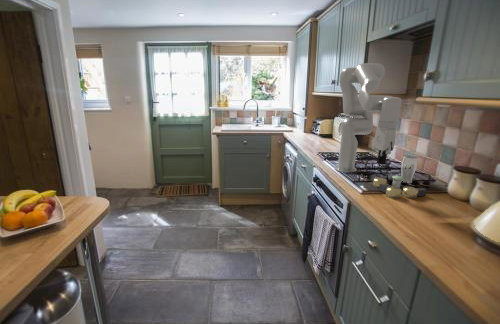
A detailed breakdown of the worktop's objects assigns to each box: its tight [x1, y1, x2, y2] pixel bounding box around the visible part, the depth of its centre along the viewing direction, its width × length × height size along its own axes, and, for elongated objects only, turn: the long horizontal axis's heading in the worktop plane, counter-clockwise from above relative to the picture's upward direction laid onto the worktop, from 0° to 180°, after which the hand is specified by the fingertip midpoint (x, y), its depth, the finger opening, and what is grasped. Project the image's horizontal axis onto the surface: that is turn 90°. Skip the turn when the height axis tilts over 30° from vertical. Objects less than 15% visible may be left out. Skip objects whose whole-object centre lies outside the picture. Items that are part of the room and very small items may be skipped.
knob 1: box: [378, 184, 402, 200], centre depth 123 cm, size 10×6×4 cm, turn 25°
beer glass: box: [400, 154, 419, 184], centre depth 139 cm, size 7×7×15 cm
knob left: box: [370, 174, 388, 189], centre depth 135 cm, size 10×6×4 cm, turn 3°
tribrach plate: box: [391, 175, 403, 189], centre depth 127 cm, size 19×15×7 cm
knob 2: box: [401, 185, 427, 200], centre depth 122 cm, size 10×6×4 cm, turn 93°
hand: (380, 163), depth 124 cm, fingers closed
